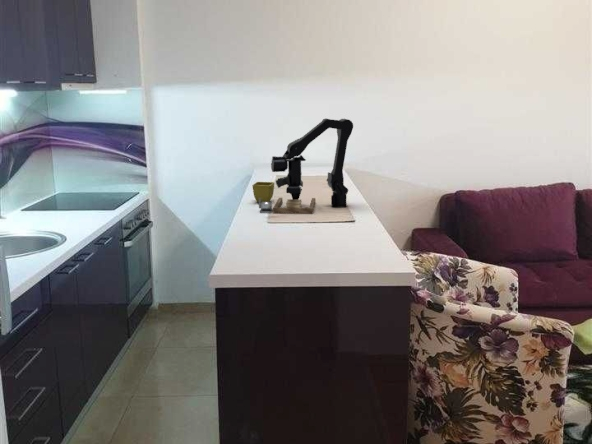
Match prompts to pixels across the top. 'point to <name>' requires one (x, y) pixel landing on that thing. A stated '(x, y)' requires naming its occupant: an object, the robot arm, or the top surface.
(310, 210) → the bay
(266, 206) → the winch drum
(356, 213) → the top surface
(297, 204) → the box
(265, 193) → the flower pot
